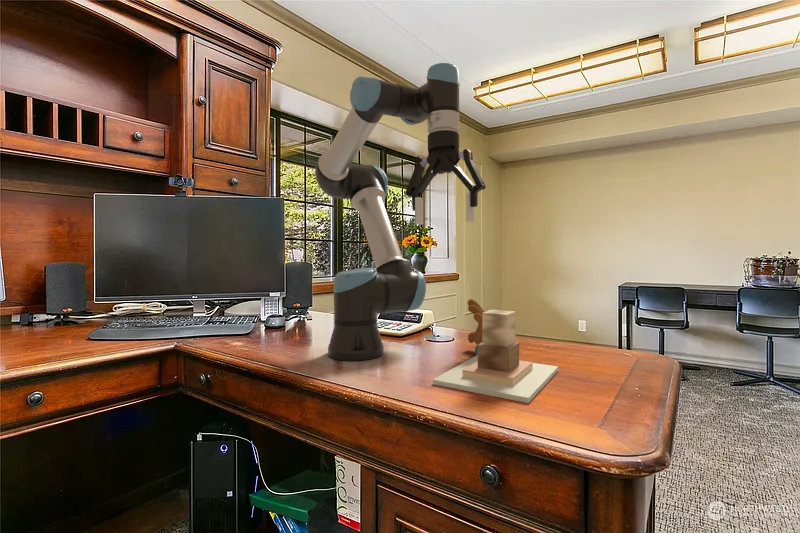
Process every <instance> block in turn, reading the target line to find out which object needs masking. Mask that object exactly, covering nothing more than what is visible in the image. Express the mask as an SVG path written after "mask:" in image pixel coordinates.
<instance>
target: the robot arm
mask: <svg viewBox="0 0 800 533" xmlns="http://www.w3.org/2000/svg"><path fill="white" fill-rule="evenodd" d="M426 74H427V76H426V83H424V84H423V85H421V86H420V87H418V88H417V87H412V86H409V85H403V84H399V83H394V82H390V81H386V80H383V79H378V78H375V77H370V76H369V77H368V76H358V77H356V78H355V79H354V80H353V82H352V83H351V89H350V92H349V102H350V104H351V106H352V107H351V108H350V110H349V113H348V114H347V116H346V117H345V119H344V121H343V122H342V125H341V126H340V128H339V130H338V131H337V133H336V135H335V137H334V138H333V140H332V142H331V144H330V146H329V148H328V150H327V151H326V152H325V153H323V154H321V156H319V158H318V159H317V162H316V165H315V170H314V176H315V180H316V182H317V185H318V187H319V188H320V189H321V191H322V192H323V193H325V194H326V195H328V196H329V197H331V198H332V199H333V198H334V199H342V200H350V203H351V204H350V205H351V206H352V208H353V209H354V210H355V211H358V214H359V217H360V221H361V224H362V227H363V230H364V234H365V236H366V240H367V242H368V246H369V249H370V252H371V256H372V259H373V262H374V265H375V267H361V268H360V267H359V268H351V269H347V270H343V271H339V272H337V273H336V274H335V276H334V277H333V278H334V279H333V289H332V292H333V320H334V322H333V330H332V333H331V336H330V341H329V344H328V346H327V356H328V357H329V358H331V359H333V360H338V361H346V362H348V361H349V362H350V361H352V362H356V361H358V362H359V361H368V360H373V359H377V358H380V357H381V356H383V355H384V353H385V352H384V349H385V347H384V343H383V341H382V338H381V335H380V334H381V333H380V331H379V327H378V315H380V314H390V313H393V314H394V313H407V312H410V311H415V310H418V309H419V308H420V307H421V306H422V304H423V303H424V300H425V297H426V293H427V282H426V278H425V275H424V274H423V273H422V272H420V271H419V270H413V268H412V265H411V262H410V261H409V260H408V259H406V258H403V255H402V252H401V250H400V246H399V243H398V239H397V237H396V235H395V232H394V229H393V225H392V223H391V221H390V218H389V214H388V211H387V210H386V207H385V203H384V202H385V199H386V197H387V195H388V192H389V186H388V184H389V181H388V176H387V175H386V173H385V171H384V170H383V169H382V168H381V167H379V166H375V165H374V166H373V165H372V164H367V165H366V164H364V165H362V164H356V163H352V162H353V161H354V159H355V157H356V156H357V155H358V153H359V152H360V150H361V149H362V148H363V146H364V144H365V142H366V141H367V140H368V138H369V136H370V135H371V133H372V132H373V130H374V129H375V128H376V126H377V125H378V123H379V121H381V119H382V117H383V116H384V115H385V116H391V117H394V118H395V117H396V118H400V120H401V121H402V122H404V123H405V124H407V125H410V126H414V125H417V124H421V123H423V122H425V121H427V132H428V135H427V151H428V155H427V156H426V157H422V156H417V157H416V160H415V167H414V169H413V171H412V174H411V176H410V177H411V178H410V180H409V182H408V185H407V186H406V190H405V192H404V193H405V196H408V197H411V199H412V201H411V202H412V203H411V204H412V211H413V212H415V213H414V224H415V225H422V226H423V225H424V198H423V197H421V196H422V195H423V194H424V193H425V191H426V189H427V188H428V186H429V185H430V184H431V182H432V180H433V179H434V178H435V177H436V176H438V174H439V175H443V174H451V173H452V172H453V173H454V174H455V176H456V177H457V178H458V180H460V181H461V182H462V184H463V185H464V187H466V188H467V190H468V192H465V221H466V222H469V223H474V222H475V208H477V206H478V202H479V201H478V198H479V197H478V195H479V194H478V193H479V192H481V191H482V190H485V189H486V187H487V186H486V184H485V182H484V180H483V178H482V176H481V174H480V172H479V169H478V168H477V165H476V164H475V162H474V157H473V152H472V151H471V150H469V149H468V148H464V149H463V151H460V134H459V132H460V85H461V84H460V75H459V74H460V73H459V68H458V67H457V66H456V65H454V63H453V64H451V63H448V62H439V63H438V62H437V63H434V64H432V65H431V66H429V68H428V69H427V73H426ZM461 159H462V161H464V164H465V166H466V167H467V169H468V171H469V174H470V176H471V177H472V180H473V181H472V180H471V179H470V178H469V177H468V176H467V174H466V173H465V172H464V171H463V169H462V168H461V167H460V165H459V162H460V161H461ZM427 164H428V167H427ZM425 167H427V168H426V169H425ZM424 172H425V173H424Z"/></svg>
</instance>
